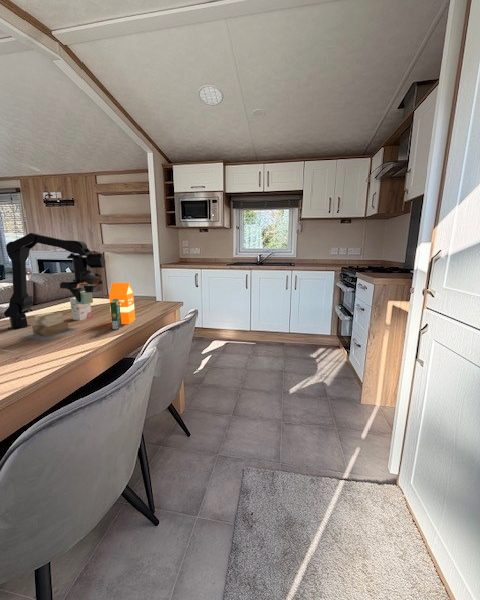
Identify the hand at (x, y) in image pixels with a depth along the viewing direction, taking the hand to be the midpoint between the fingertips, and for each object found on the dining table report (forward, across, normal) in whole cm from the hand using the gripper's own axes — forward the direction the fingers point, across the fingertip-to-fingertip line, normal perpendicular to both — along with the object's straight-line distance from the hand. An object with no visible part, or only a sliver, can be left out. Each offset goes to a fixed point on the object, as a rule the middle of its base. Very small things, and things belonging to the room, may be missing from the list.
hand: (84, 301), depth 128 cm
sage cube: (+1, 0, 0) cm, 1 cm away
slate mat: (+12, -15, +4) cm, 19 cm away
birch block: (+8, -15, +4) cm, 17 cm away
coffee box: (+12, +1, -17) cm, 21 cm away
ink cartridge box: (+12, +9, +13) cm, 20 cm away
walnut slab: (+12, -15, +4) cm, 19 cm away
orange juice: (+12, +10, -13) cm, 20 cm away
